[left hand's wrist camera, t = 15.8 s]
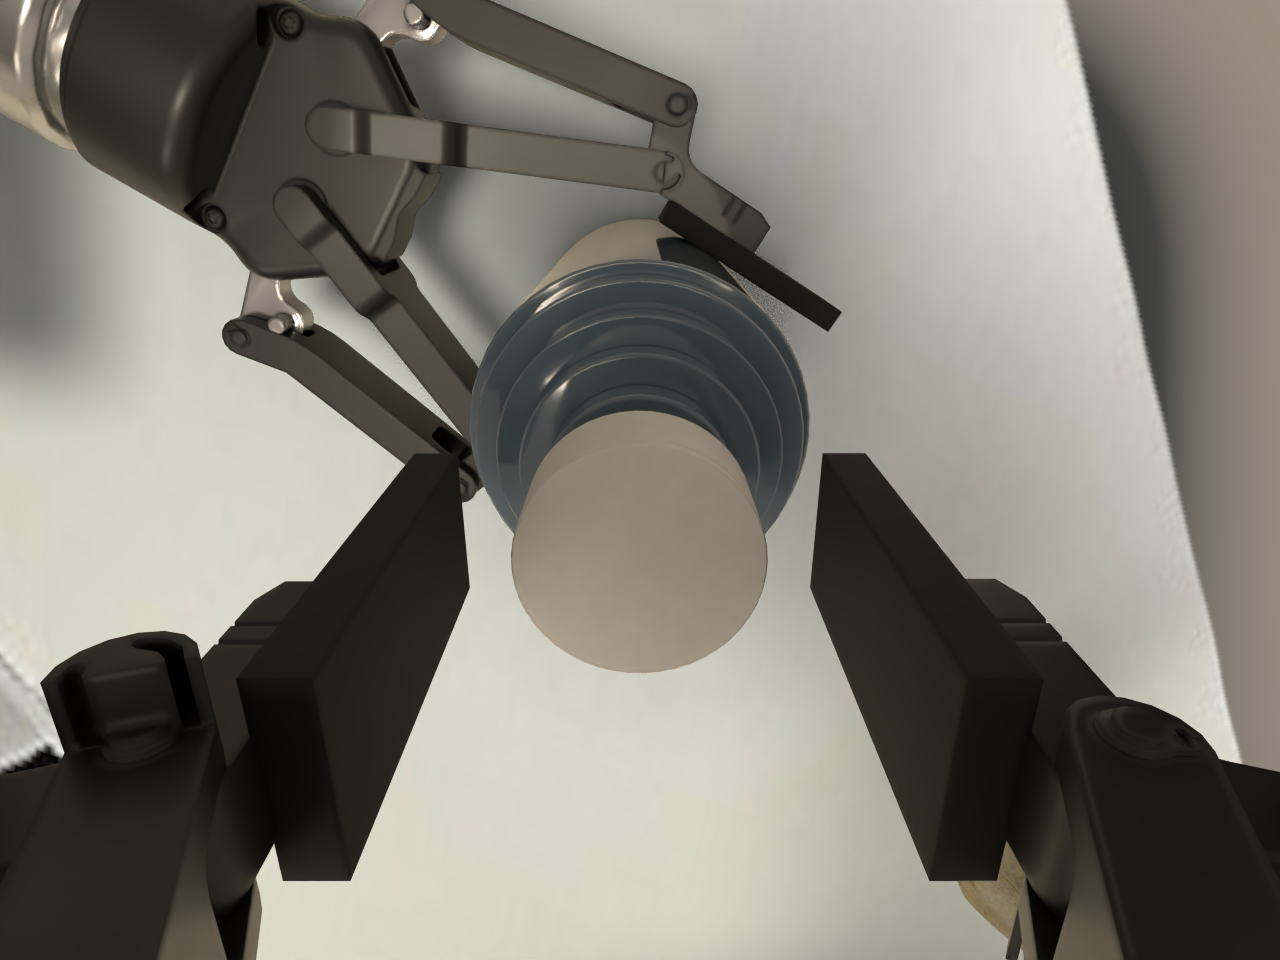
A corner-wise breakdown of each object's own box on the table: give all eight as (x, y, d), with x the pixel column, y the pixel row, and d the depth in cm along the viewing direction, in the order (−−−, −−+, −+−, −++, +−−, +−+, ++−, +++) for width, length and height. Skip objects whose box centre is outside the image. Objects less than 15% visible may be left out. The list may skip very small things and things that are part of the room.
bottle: (688, 441, 35) (752, 800, 15) (515, 371, 34) (337, 661, 14) (769, 267, 32) (981, 427, 12) (584, 185, 31) (485, 213, 11)
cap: (718, 379, 13) (730, 412, 12) (775, 582, 15) (793, 638, 13) (493, 447, 14) (471, 488, 12) (569, 637, 15) (561, 698, 14)
